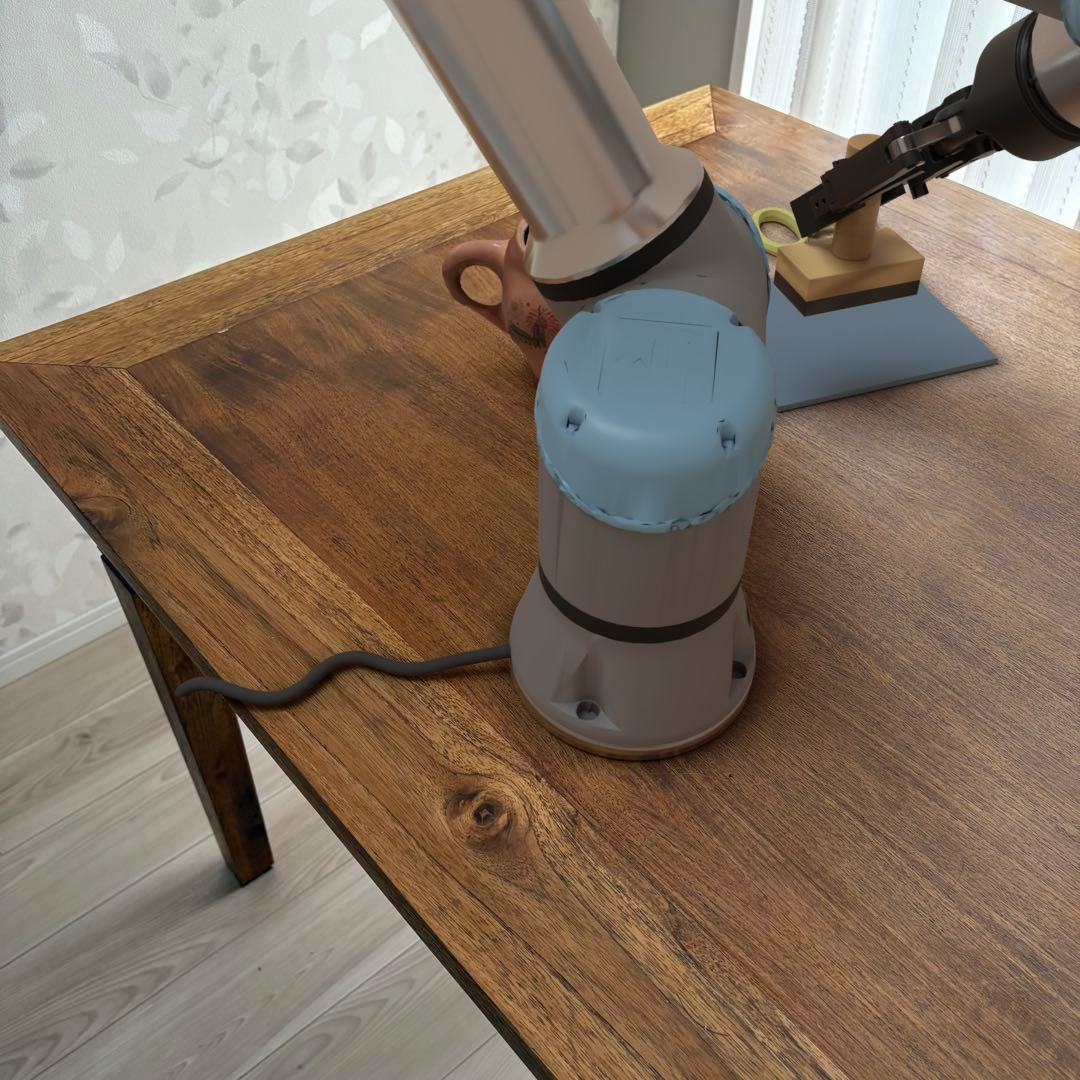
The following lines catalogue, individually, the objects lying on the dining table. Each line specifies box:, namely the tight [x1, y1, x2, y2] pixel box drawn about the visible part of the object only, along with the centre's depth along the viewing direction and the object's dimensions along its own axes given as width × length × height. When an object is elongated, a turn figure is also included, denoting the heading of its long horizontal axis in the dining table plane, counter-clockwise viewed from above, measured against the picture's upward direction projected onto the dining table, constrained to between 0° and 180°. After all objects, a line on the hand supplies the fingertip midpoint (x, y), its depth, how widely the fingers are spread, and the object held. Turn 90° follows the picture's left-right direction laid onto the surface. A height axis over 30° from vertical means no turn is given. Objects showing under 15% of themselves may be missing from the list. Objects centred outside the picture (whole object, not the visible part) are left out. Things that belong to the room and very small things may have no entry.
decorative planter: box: [441, 217, 562, 391], centre depth 85 cm, size 20×12×14 cm, turn 86°
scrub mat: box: [765, 281, 999, 413], centre depth 94 cm, size 20×16×1 cm
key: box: [751, 206, 835, 257], centre depth 105 cm, size 7×12×2 cm, turn 123°
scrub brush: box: [773, 133, 926, 317], centre depth 77 cm, size 9×5×11 cm, turn 107°
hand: (819, 212), depth 80 cm, fingers closed on scrub brush, 3 cm apart
